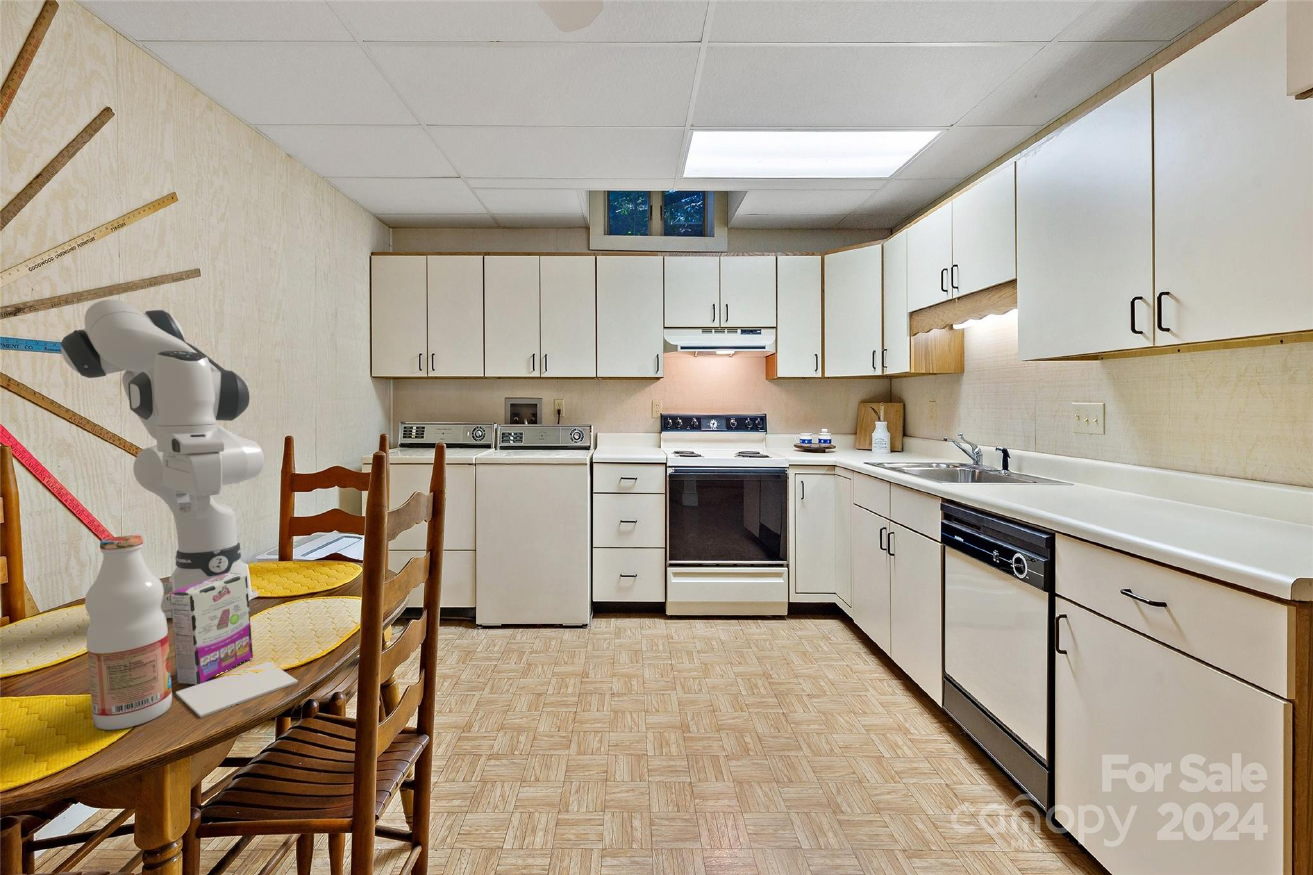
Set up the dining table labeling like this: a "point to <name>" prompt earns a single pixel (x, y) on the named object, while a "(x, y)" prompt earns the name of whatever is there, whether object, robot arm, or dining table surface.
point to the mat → (235, 689)
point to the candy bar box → (211, 627)
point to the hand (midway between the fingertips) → (192, 515)
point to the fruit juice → (127, 639)
